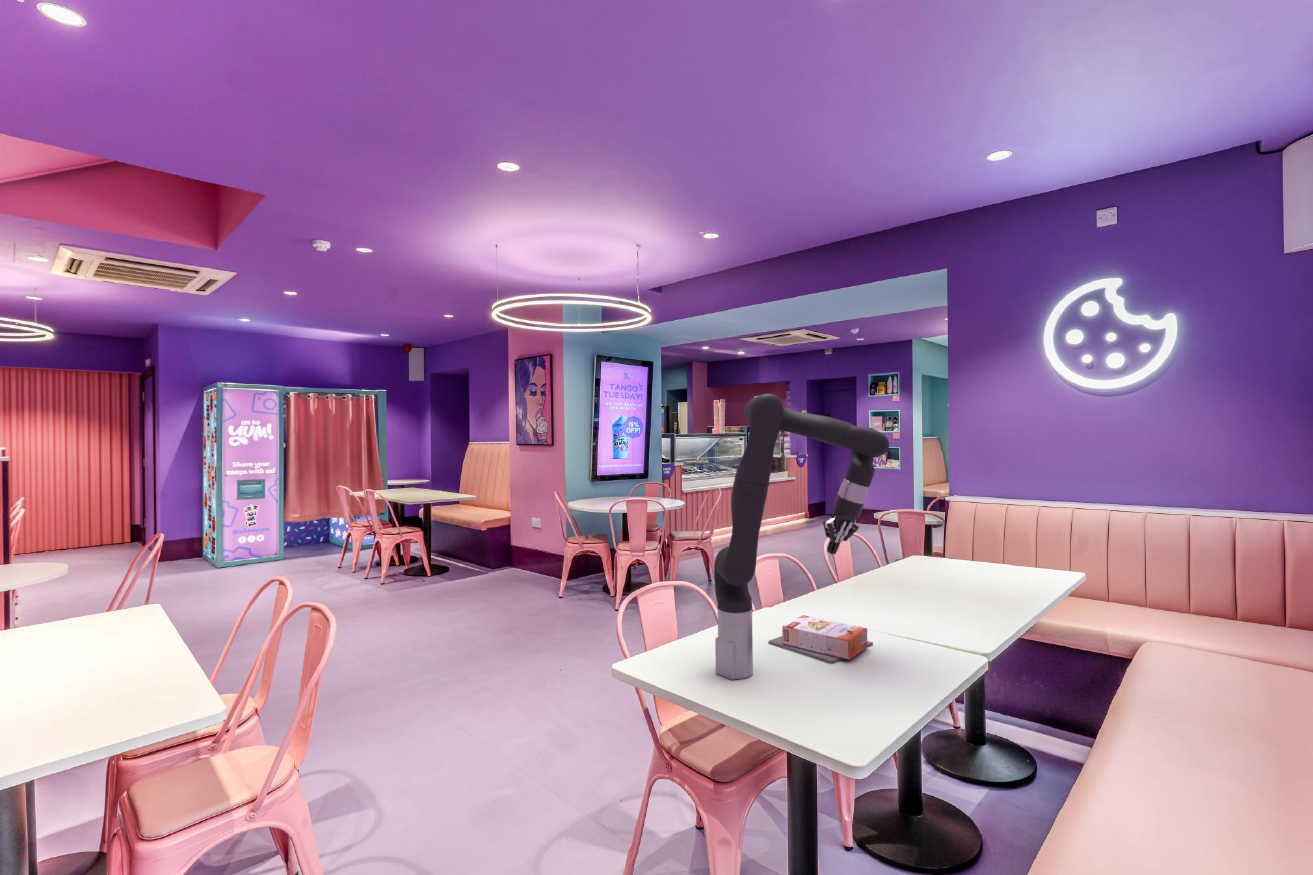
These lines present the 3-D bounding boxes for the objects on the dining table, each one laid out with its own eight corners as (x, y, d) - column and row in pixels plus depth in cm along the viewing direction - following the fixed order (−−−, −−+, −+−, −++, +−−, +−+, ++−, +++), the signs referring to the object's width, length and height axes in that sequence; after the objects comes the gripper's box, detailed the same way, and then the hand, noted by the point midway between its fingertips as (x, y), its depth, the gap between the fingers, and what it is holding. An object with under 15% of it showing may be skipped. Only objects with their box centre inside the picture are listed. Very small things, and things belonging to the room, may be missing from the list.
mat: (831, 663, 162) (831, 661, 162) (768, 643, 179) (768, 640, 179) (873, 644, 176) (872, 642, 176) (810, 627, 193) (810, 625, 193)
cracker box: (849, 638, 162) (781, 624, 175) (850, 660, 162) (781, 645, 175) (867, 626, 173) (802, 614, 186) (868, 646, 173) (802, 633, 186)
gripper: (857, 494, 171) (837, 547, 175) (825, 490, 164) (805, 546, 168) (876, 504, 165) (856, 559, 168) (845, 500, 158) (824, 558, 161)
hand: (830, 552), depth 168 cm, fingers closed
